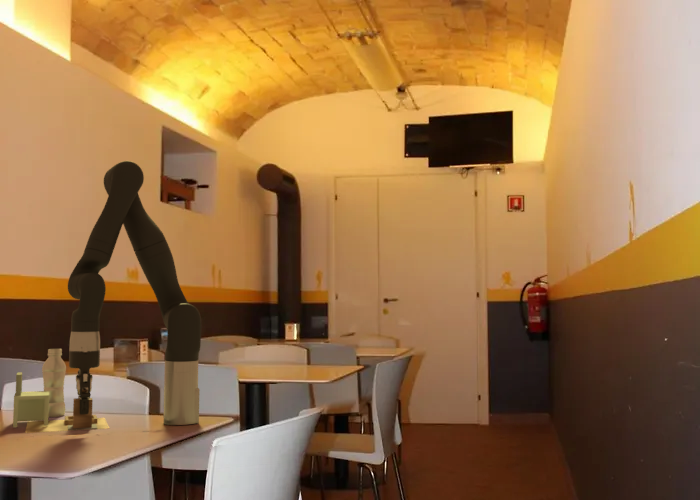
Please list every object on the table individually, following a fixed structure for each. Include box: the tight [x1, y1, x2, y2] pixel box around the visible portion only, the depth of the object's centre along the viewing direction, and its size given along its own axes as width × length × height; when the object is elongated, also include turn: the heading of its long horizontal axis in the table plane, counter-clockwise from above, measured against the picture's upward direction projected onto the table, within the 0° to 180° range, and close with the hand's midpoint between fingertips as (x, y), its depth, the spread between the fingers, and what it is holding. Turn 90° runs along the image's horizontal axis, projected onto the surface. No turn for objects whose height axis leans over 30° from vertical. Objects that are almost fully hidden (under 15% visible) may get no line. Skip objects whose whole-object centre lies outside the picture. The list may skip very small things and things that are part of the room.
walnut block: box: [72, 397, 94, 428], centre depth 195 cm, size 4×4×7 cm
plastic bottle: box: [41, 348, 67, 418], centre depth 217 cm, size 6×7×20 cm
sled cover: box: [12, 371, 49, 428], centre depth 200 cm, size 8×11×13 cm
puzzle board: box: [25, 414, 110, 438], centre depth 199 cm, size 20×20×2 cm
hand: (83, 412), depth 195 cm, fingers open, 8 cm apart
